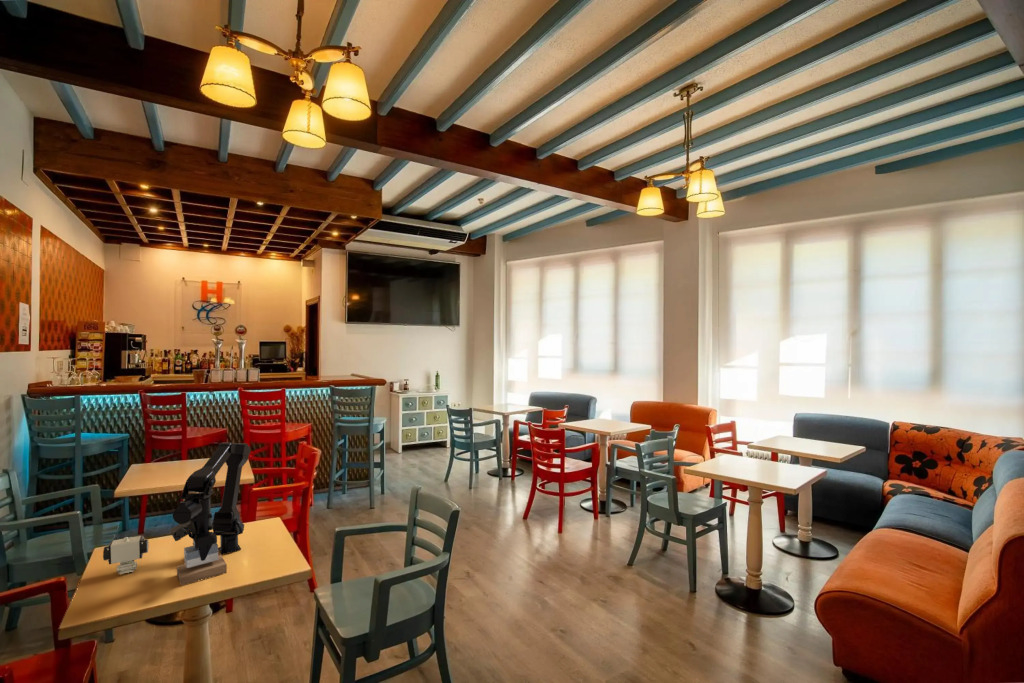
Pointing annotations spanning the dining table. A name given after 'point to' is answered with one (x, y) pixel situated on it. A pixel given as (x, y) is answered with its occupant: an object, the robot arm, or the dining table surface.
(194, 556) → the block
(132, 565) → the pneumatic valve
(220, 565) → the walnut stand
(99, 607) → the dining table surface
